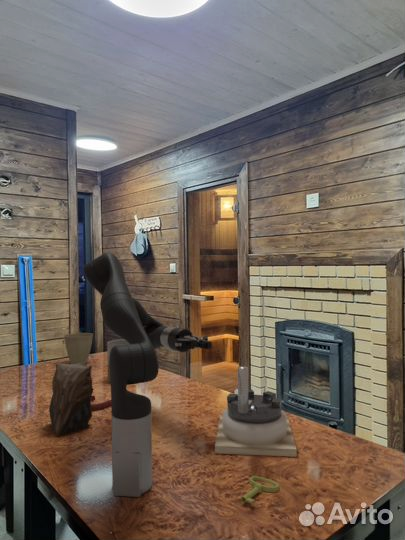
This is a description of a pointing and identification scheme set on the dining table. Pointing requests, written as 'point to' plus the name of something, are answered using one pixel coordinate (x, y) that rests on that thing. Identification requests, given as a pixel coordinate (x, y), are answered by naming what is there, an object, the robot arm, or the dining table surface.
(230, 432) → the cap housing
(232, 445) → the base board
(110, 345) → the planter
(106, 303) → the robot arm
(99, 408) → the pliers
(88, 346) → the plant pot
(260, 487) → the key
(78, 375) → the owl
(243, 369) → the cap with crank handle
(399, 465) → the dining table surface
